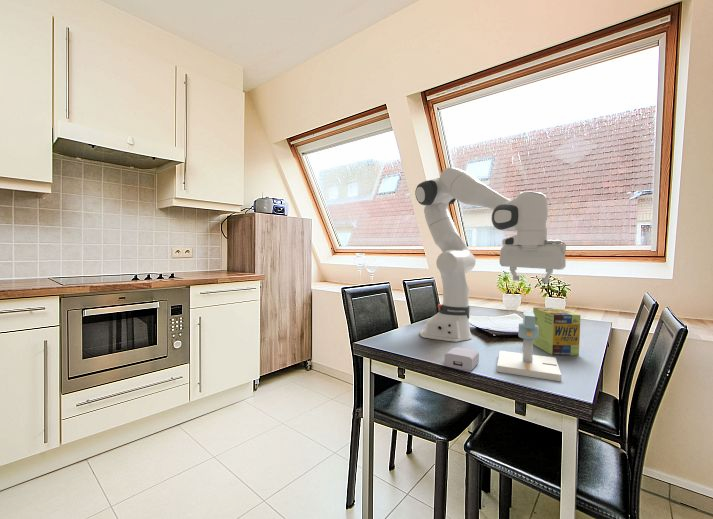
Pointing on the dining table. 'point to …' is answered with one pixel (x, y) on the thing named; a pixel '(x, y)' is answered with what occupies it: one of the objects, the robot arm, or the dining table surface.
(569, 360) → the dining table surface
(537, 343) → the protein box
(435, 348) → the dining table surface
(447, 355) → the charger
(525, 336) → the coupling
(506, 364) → the post base
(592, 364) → the dining table surface
